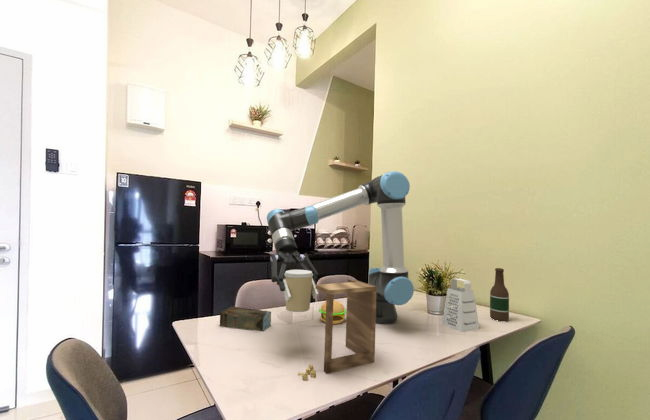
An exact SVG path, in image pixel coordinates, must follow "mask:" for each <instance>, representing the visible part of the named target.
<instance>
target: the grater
mask: <svg viewBox="0 0 650 420" xmlns="http://www.w3.org/2000/svg"><path fill="white" fill-rule="evenodd" d="M458 281H461V282H463V284H464V288H463V287H459V286H458ZM475 296H476V295H475V290H472V283H471V282H470V280H468V279H462V278H452V279H451V280H450V287H448V288H447V291H446V297H445V304H444V310H443V315H442V321H441V325H444V326H446V327H449V328H452V329H454V330H457V331H459V332H469V331H473V330H475V329H476V330H480V323H479V316H478V309H477V304H476V297H475ZM467 324H468V325H467ZM476 330H475V331H476Z"/></svg>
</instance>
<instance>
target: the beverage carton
mask: <svg viewBox="0 0 650 420" xmlns="http://www.w3.org/2000/svg"><path fill="white" fill-rule="evenodd" d="M219 313H220V315H219V327H224V328H233V329H240V330H249V331H256V332H257V331H258V332H264V331H265V330H267V329H268V328H269V327H271V324H272V311H269V310H260V309H255V308H245V307H239V306H231V305H229V307H227V308H225V309H223V310H220V312H219Z"/></svg>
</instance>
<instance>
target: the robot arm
mask: <svg viewBox="0 0 650 420" xmlns="http://www.w3.org/2000/svg"><path fill="white" fill-rule="evenodd" d="M410 187H411V186H410V181H409V179H408V178H407V176H405V174H403V173H402V172H400V171H396V170H395V171H387V172H385V173H384V174H381V175H378V176H377V177H374V178H373V179H371V180H369V181H368V182H366V183H363V184H360V185H359V186H358V187H357V188H355V189H352V190H350V191H346V192H344V193H342V194H338V195H335V196H333V197H330V198H327V199H324V200H320V201H319V202H316V203H313V204H310V205H307V206H304V207H301V208H298V209H294V210H291V211H286V212H285V211H284V210H283V209H279V208H274V209H272V210H270V211H269V212H268V213H267V216H266V220H267V224H268V229H269V232H270V233H269V234H270V235H271V238H272V243H273V245H274V249H275V253H276V254H274V253H272V254H271V255H270V258H269V261H270V263H271V264H270V265H271V282H272V283H276V285H277V286H278V287H279V290H280V292H282V293H283V296H284V299H285V303H286V302H288V301H289V299H290V297H291V295H290V292H289V289H288V285H287V282H286V279H285V278H284V277H285V276H284V274H285V272H286V268H287V267H289V266H290V267H291V266H293V267H295V269H297V270H309V271H312V274H313V276H312V288H311V297H312V298H313V299H316V298H317V297H318V295H319V292H318V291H319V290H317V289H315V286H316V285H318V284H317V281H316V279H317V277H318V275H319V272H318V271H317V269H316V268H315V266H314V264H313V263H312V262H311V260H310V258H309V255H308V253H306V252H304V254H300V252H299V250H298V246H297V244H296V241H295V238H294V234H293V232H292V231H295V230H299V229H303V228H306V227H311V226H313V225H316V224H318V223H319V221H321V220H323V219H327V218H329V217H331V216H334V215H337V214H340V213H342V212H346V211H348V210H351V209H354V208H356V207H359V206H362V205H365V206H369V205H372V204H376V206H378V208H379V209H380V215H381V216H380V218H381V220H380V221H381V239H382V240H381V241H382V242H381V243H382V244H381V245H382V266H381V267H370V268H369V270H368V284H370V285H373V286H377V288H376V324H383V325H384V324H385V325H387V324H388V325H389V324H394V323H397V322H398V320H399V319H398V315H399V314H398V313H397V308H396V306H402V305H406V304H407V303H408V302H409V301H410V300H411V299H412V298H413V296H414V291H415V289H414V284H413V282H412V280H410V279H409V270H408V269H407V267H406V266H405V254H404V251H405V250H404V227H403V225H404V224H403V208H404V206H405V205H406V196H407V195H408V194H409V193H410ZM278 261H280V263H281V265H280V271H279V273H278Z"/></svg>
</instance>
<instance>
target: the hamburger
mask: <svg viewBox="0 0 650 420" xmlns="http://www.w3.org/2000/svg"><path fill="white" fill-rule="evenodd" d="M318 312H320V314H321V316H320V320H321V321H322V322H323V323H326V301H324V302H323V303H322V305H321V306H320V308H319V309H318ZM345 314H347V309H346V308H345V307H344V305H343V303H342V302H340V301H338V300H333V325H338V324H342V323H343V321H345V318H346V317H345V316H346V315H345Z"/></svg>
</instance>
